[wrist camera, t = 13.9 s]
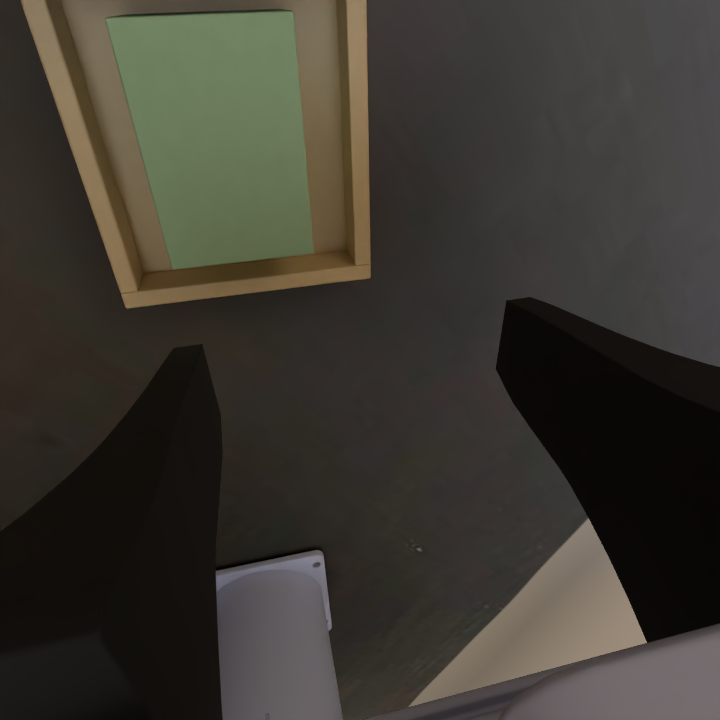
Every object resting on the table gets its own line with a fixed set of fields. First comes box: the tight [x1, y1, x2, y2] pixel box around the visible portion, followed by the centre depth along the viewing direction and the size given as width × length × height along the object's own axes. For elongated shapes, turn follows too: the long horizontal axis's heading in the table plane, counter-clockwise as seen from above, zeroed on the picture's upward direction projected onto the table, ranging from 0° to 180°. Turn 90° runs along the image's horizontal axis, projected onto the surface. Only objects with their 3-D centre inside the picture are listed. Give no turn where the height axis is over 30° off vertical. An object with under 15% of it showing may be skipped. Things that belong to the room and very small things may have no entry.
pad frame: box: [20, 0, 371, 308], centre depth 14 cm, size 16×9×2 cm, turn 2°
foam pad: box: [105, 9, 314, 270], centre depth 15 cm, size 6×4×3 cm
